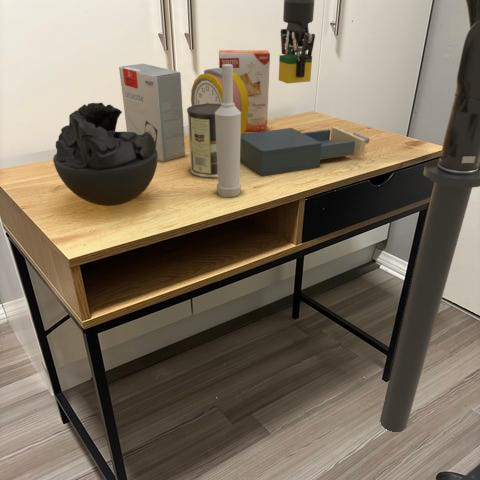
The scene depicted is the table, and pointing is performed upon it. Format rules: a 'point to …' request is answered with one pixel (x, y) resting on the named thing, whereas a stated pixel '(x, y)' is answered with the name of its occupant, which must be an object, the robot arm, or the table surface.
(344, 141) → the drawer
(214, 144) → the coffee can
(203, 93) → the alarm clock
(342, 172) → the table surface
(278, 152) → the cabinet
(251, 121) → the cracker box
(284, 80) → the sponge
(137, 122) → the hard drive box
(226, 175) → the bottle
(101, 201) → the bowl of black rocks
